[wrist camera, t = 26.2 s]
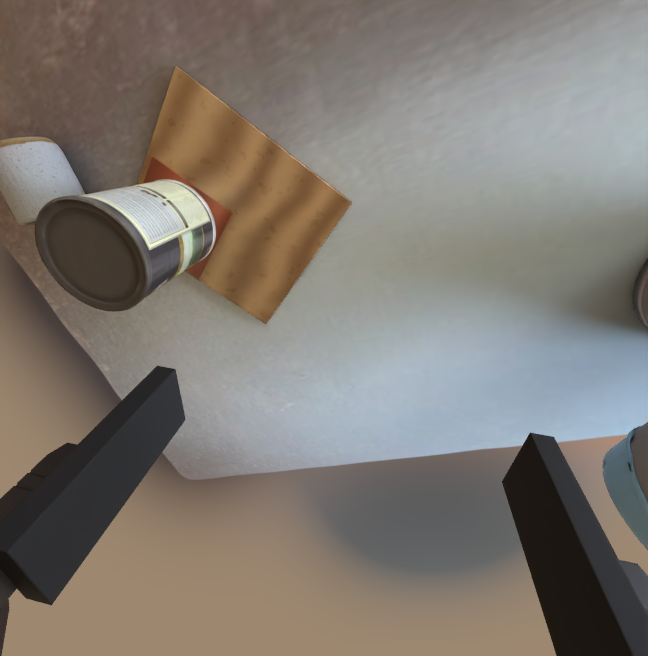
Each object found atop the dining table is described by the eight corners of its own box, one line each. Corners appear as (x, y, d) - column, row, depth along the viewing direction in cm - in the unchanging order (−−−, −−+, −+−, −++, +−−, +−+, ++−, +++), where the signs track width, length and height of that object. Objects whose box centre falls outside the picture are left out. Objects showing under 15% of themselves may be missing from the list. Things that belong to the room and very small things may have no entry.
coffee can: (227, 260, 42) (164, 309, 30) (156, 266, 44) (71, 314, 32) (202, 171, 37) (115, 188, 25) (123, 183, 40) (9, 204, 27)
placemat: (351, 202, 37) (351, 203, 37) (267, 322, 47) (265, 325, 46) (178, 66, 34) (174, 65, 33) (125, 228, 43) (120, 229, 43)
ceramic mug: (68, 132, 38) (2, 132, 32) (107, 205, 42) (54, 217, 35) (5, 158, 41) (-67, 163, 35) (47, 224, 45) (-12, 239, 38)
